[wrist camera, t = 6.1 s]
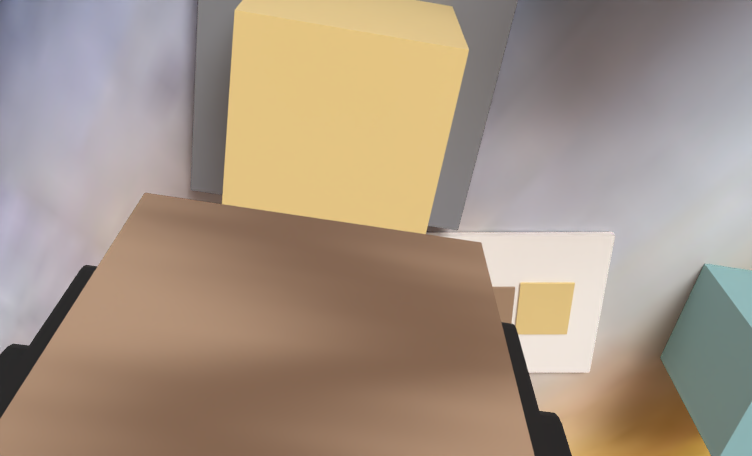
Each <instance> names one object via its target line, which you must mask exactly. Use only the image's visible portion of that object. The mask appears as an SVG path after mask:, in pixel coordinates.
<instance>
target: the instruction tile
mask: <svg viewBox="0 0 752 456" xmlns="http://www.w3.org/2000/svg"><path fill="white" fill-rule="evenodd" d="M426 234H428V235H435V236H441V237H448V238H455V239H462V240H468V241H475V242H481V243H482V247H483V251H484V255H485V259H486V263H487V267H488V271H489V275H490V279H491V283H492V287H493V291H494V295H495V299H496V303H497V307H498V311H499V315H500V319H501V322H504V323H511V324H514V325H515V327H516V329H517V332H518V336H519V340H520V343H521V347H522V351H523V354H524V358H525V361H526V365H527V369H528V372H590V367H591V362H592V357H593V351H594V346H595V341H596V335H597V330H598V325H599V319H600V314H601V308H602V303H603V298H604V292H605V287H606V282H607V276H608V271H609V266H610V260H611V255H612V249H613V244H614V239H615V235H614V233H613V232H426Z"/></svg>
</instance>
